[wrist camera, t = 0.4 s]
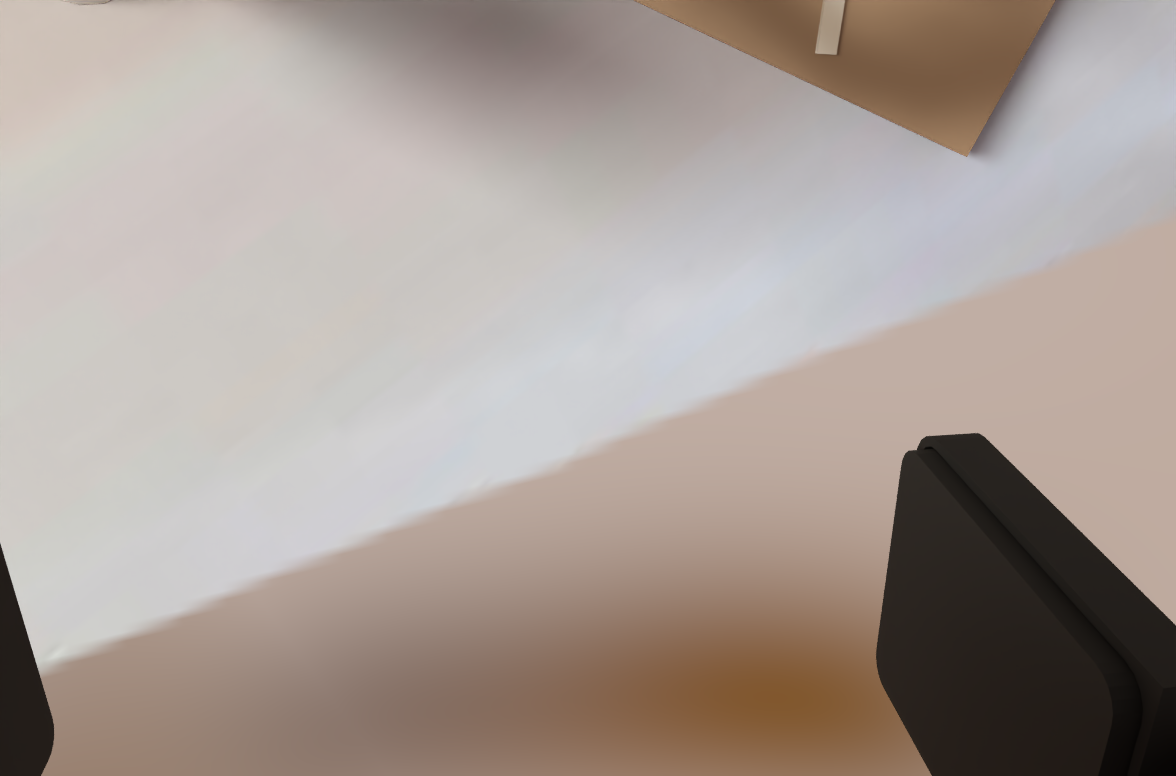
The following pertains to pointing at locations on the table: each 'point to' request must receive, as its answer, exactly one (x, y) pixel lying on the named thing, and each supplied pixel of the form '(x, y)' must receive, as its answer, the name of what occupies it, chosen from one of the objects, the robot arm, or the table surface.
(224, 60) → the table surface
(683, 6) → the dial base
